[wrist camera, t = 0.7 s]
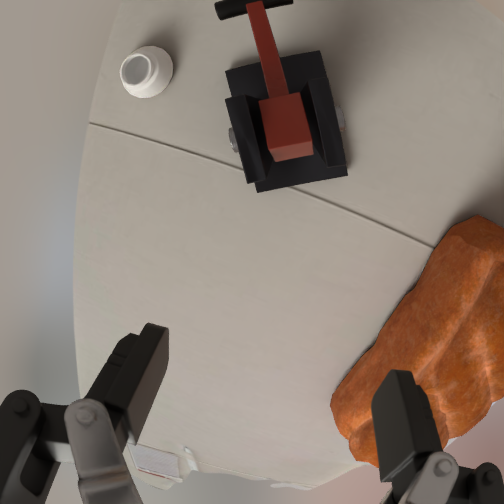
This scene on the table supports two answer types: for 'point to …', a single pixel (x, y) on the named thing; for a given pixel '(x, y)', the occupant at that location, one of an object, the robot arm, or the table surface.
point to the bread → (438, 340)
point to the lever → (273, 84)
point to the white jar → (146, 71)
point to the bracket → (318, 115)
